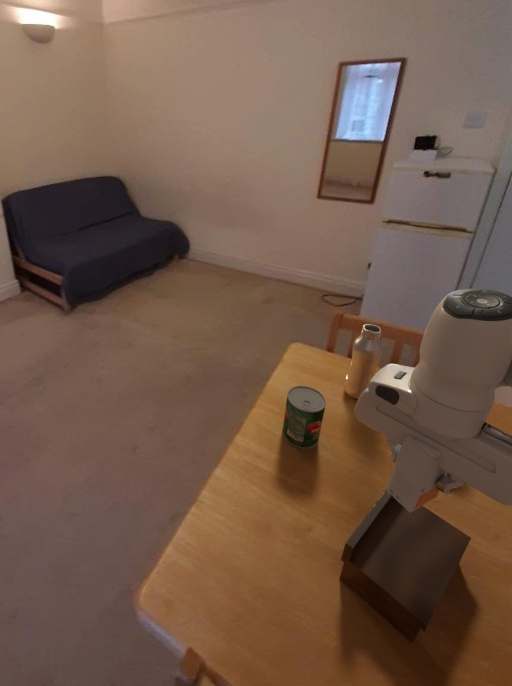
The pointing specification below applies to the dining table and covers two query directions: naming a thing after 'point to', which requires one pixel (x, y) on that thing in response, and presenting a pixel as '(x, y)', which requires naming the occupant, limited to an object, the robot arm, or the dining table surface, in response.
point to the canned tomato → (303, 416)
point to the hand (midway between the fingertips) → (418, 474)
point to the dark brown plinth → (402, 562)
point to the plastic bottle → (363, 360)
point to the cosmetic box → (415, 474)
